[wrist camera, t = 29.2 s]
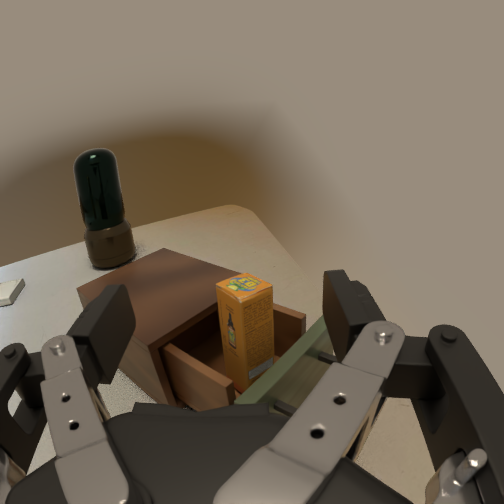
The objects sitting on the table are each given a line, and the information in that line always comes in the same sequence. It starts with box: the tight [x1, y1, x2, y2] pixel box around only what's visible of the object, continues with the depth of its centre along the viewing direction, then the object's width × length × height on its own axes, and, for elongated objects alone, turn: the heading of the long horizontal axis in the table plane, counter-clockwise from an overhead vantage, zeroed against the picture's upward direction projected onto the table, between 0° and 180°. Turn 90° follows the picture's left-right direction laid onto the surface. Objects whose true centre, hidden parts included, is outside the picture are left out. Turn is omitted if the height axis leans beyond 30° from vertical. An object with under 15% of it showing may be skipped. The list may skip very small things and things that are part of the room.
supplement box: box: [216, 273, 274, 393], centre depth 25 cm, size 3×3×10 cm
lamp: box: [73, 148, 135, 268], centre depth 54 cm, size 10×10×22 cm
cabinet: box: [77, 248, 241, 408], centre depth 32 cm, size 15×13×9 cm
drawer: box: [157, 303, 337, 417], centre depth 25 cm, size 18×11×7 cm, turn 51°
